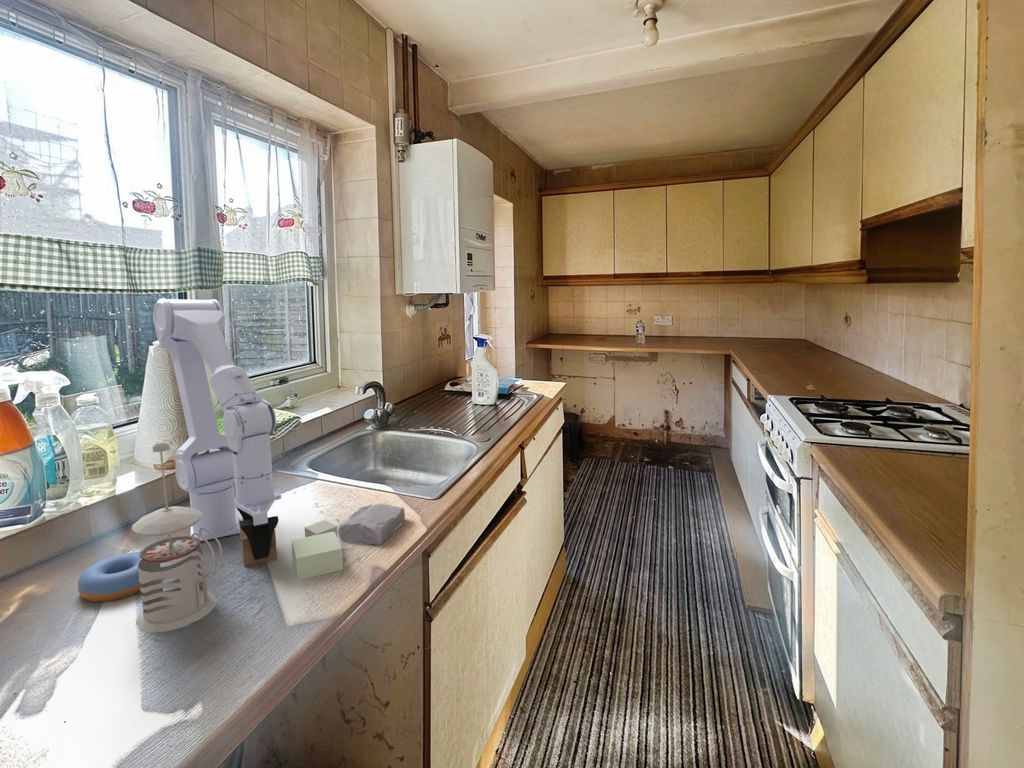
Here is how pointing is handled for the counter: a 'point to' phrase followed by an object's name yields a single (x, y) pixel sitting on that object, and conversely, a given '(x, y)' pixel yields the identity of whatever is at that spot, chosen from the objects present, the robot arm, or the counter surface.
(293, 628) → the counter surface
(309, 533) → the grey cube
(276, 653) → the counter surface
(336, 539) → the sage block
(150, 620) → the french press
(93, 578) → the doughnut
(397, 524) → the stone block
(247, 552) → the walnut cube
